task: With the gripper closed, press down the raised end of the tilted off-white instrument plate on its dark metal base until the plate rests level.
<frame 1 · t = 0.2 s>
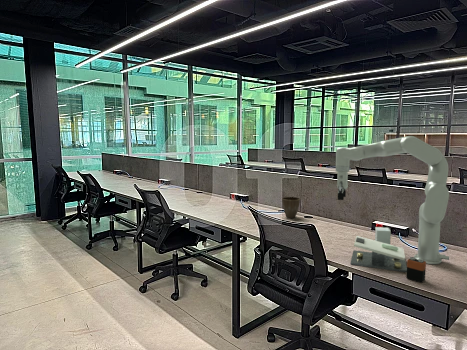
hand: (341, 198, 185), 31 cm above the table, tool pointing down, fingers open, 9 cm apart
level plate: (378, 246, 169), point 8 cm above the table, hinge at -10.0°
battery: (415, 279, 148), on the table
tribrach base: (378, 261, 170), on the table
supplement box: (382, 250, 187), on the table
plant pot: (290, 217, 266), on the table
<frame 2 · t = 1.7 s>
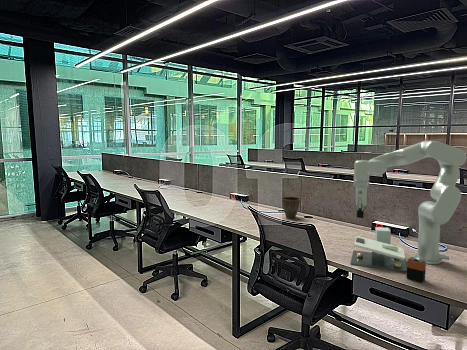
hand: (360, 217, 171), 23 cm above the table, tool pointing down, fingers closed
nothing on the table moved.
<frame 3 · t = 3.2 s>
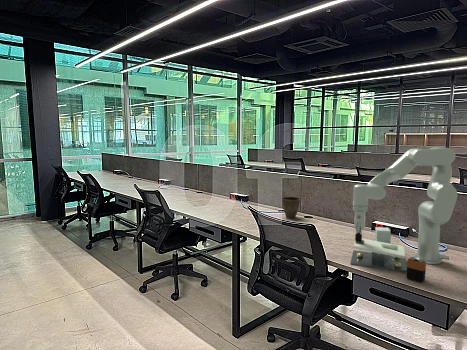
hand: (358, 240, 173), 10 cm above the table, tool pointing down, fingers closed
level plate: (378, 246, 169), point 8 cm above the table, hinge at -5.2°, touching gripper
everything else where it was.
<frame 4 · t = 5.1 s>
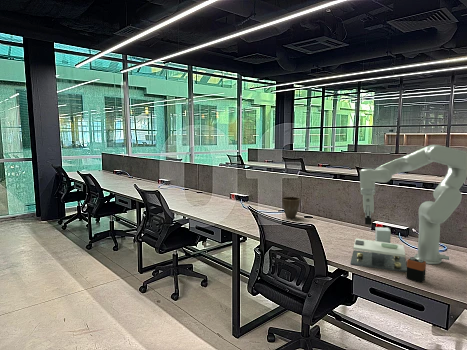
hand: (368, 224, 176), 18 cm above the table, tool pointing down, fingers closed
level plate: (378, 246, 169), point 8 cm above the table, hinge at -1.8°
everything else where it was.
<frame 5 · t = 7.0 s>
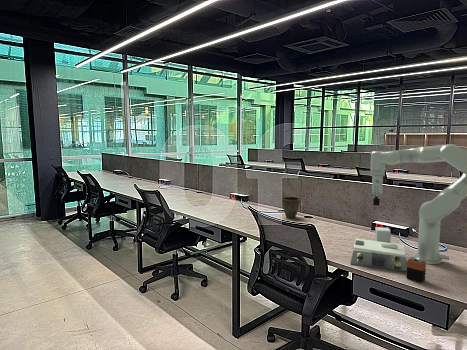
hand: (376, 205, 182), 27 cm above the table, tool pointing down, fingers closed
nothing on the table moved.
at the end: level plate at -2° (first picture: -10°); battery moved 0.2 cm from its start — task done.
